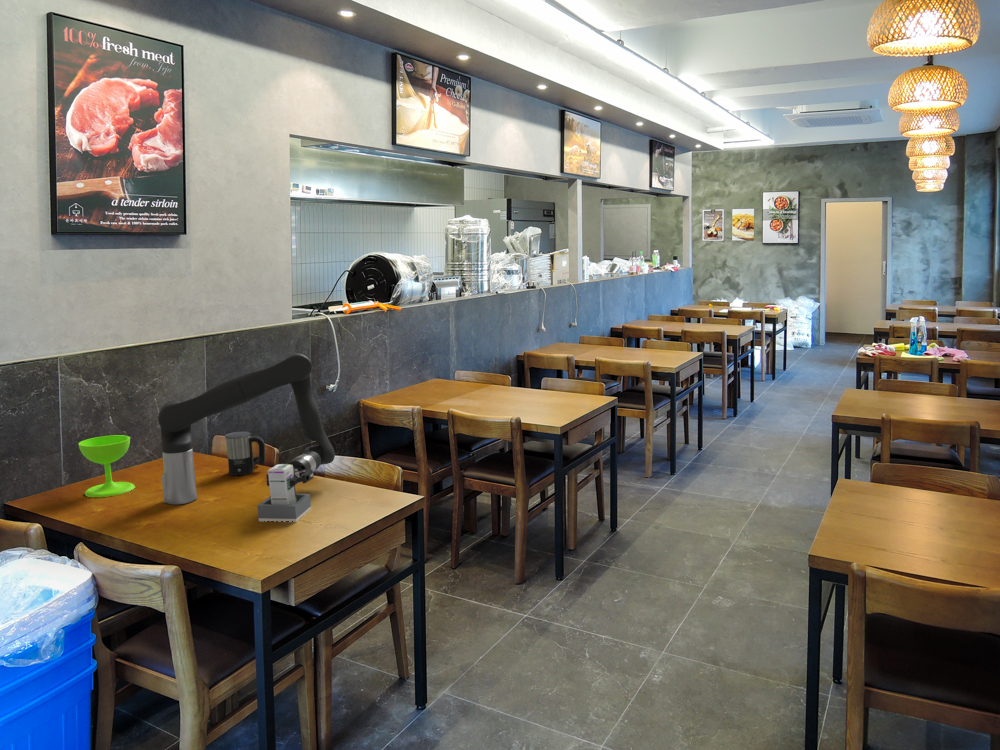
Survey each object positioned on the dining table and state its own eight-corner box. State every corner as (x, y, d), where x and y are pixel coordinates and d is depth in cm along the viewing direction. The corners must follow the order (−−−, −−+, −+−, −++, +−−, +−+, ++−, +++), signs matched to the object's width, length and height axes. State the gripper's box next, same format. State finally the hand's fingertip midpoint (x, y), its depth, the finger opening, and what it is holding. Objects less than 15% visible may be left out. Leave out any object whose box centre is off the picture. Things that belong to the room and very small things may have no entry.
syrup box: (289, 515, 232) (285, 469, 229) (271, 514, 233) (267, 469, 231) (297, 508, 237) (293, 463, 235) (280, 508, 239) (276, 463, 236)
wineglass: (143, 483, 273) (138, 434, 271) (122, 497, 258) (117, 445, 255) (98, 484, 273) (92, 436, 270) (74, 498, 257) (68, 447, 254)
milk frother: (230, 477, 278) (226, 438, 276) (223, 467, 292) (219, 430, 289) (269, 471, 285) (266, 433, 282) (261, 462, 298) (258, 425, 296)
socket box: (258, 521, 230) (257, 505, 229) (275, 508, 242) (274, 493, 241) (296, 522, 229) (295, 506, 228) (311, 509, 240) (310, 493, 240)
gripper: (278, 456, 248) (256, 471, 232) (321, 457, 246) (301, 471, 230) (280, 478, 249) (258, 494, 233) (322, 479, 247) (303, 495, 231)
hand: (279, 483), depth 231 cm, fingers open, 6 cm apart
